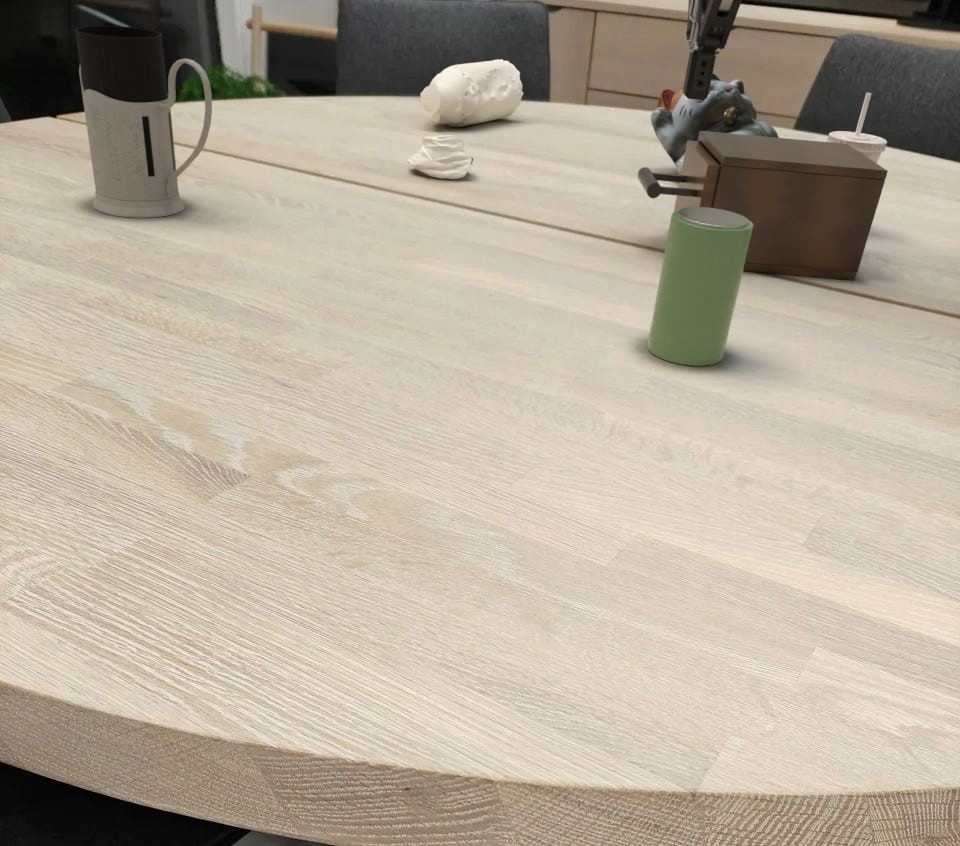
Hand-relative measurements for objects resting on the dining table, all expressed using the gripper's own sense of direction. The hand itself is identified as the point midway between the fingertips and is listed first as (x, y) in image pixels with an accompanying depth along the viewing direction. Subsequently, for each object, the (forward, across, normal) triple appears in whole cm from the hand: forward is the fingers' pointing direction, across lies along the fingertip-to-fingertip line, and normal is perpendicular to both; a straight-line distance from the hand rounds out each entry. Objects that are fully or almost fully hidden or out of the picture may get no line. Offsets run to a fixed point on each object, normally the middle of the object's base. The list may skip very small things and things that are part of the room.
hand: (694, 97), depth 95 cm
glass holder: (+14, -2, +51) cm, 53 cm away
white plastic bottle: (+14, +59, +20) cm, 64 cm away
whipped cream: (+14, +25, +24) cm, 38 cm away
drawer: (+13, 0, -6) cm, 14 cm away
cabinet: (+14, 0, -10) cm, 17 cm away
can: (+14, -30, +3) cm, 33 cm away
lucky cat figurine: (+14, +34, -11) cm, 38 cm away
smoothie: (+14, +14, -22) cm, 29 cm away
